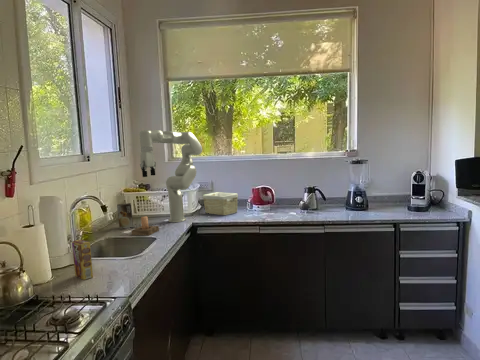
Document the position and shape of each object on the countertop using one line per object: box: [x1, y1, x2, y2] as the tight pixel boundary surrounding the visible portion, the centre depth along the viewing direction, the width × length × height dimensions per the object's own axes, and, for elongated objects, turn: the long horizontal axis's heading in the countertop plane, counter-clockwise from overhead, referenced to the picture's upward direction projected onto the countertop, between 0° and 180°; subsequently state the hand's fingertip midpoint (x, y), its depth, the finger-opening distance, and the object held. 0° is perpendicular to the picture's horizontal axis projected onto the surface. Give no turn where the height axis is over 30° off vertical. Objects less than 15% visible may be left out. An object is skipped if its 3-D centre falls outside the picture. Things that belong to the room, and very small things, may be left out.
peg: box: [140, 215, 149, 229], centre depth 231 cm, size 4×4×10 cm
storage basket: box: [202, 191, 239, 216], centre depth 281 cm, size 24×16×15 cm
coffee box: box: [116, 202, 134, 229], centre depth 250 cm, size 9×6×16 cm
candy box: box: [71, 239, 94, 281], centre depth 156 cm, size 9×4×15 cm, turn 47°
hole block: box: [130, 225, 160, 236], centre depth 231 cm, size 12×12×3 cm
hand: (149, 176), depth 241 cm, fingers open, 9 cm apart
